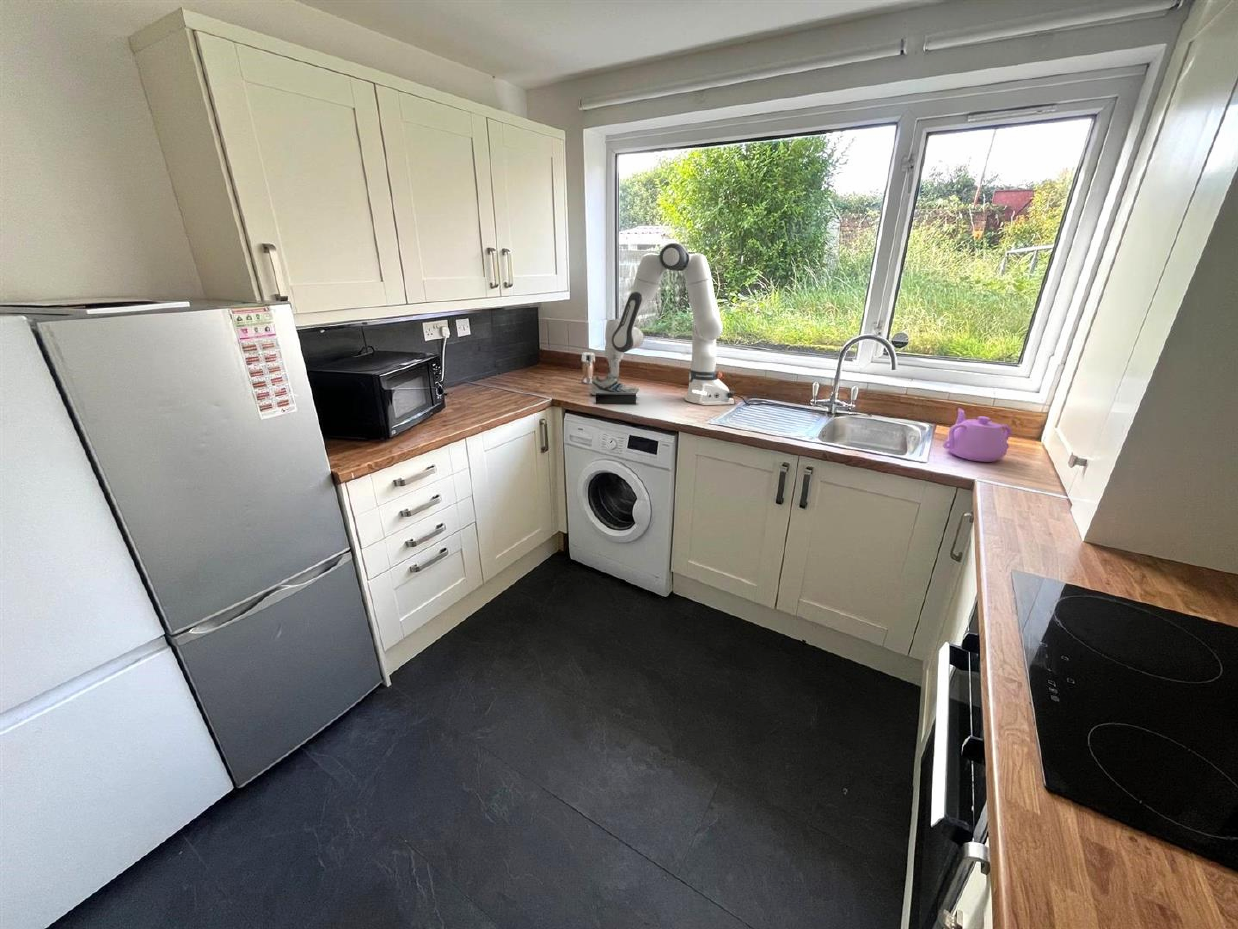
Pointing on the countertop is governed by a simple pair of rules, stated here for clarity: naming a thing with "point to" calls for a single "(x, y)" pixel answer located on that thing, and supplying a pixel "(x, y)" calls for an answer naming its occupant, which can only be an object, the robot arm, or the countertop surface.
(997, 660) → the countertop surface
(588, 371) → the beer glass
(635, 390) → the athletic shoe
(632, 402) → the shoe rack
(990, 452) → the teapot
